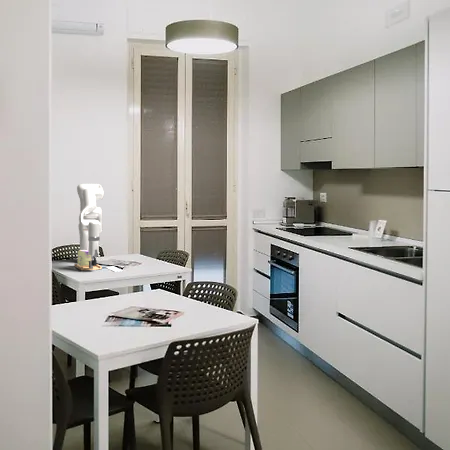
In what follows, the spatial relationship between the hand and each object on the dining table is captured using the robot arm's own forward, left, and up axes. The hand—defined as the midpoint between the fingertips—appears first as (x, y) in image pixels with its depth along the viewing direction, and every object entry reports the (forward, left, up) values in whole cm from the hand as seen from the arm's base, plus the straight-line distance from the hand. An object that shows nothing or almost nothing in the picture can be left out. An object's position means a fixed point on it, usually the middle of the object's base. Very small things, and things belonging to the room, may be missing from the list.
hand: (94, 265), depth 404 cm
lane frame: (-15, 0, -4) cm, 16 cm away
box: (-19, -1, -4) cm, 20 cm away
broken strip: (-2, +15, -4) cm, 16 cm away
